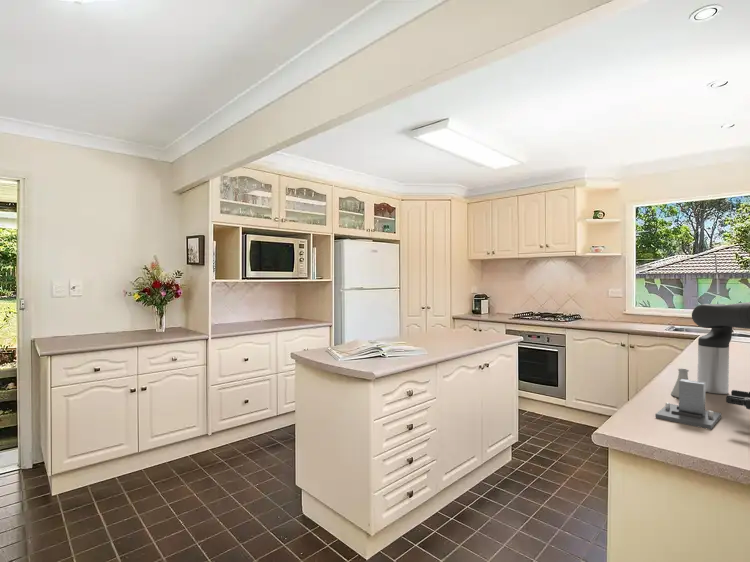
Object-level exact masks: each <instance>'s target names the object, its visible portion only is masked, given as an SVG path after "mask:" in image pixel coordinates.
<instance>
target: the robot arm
mask: <svg viewBox="0 0 750 562" xmlns="http://www.w3.org/2000/svg"><path fill="white" fill-rule="evenodd" d="M691 312H692V313H691V318H692V321H693V322H694V323H695V324H696V325H697V326H699V327H701V328H704V329H711V330H710V331H709V332H708V333H707V334H705V335H702V336H700V337H699V338H698V340H697V344H698V345H697V379H696V381H699V382H705V383H706V392H705V393H710V394H717V395H718V394H720V395H726V396H725V402H726V403H727V404H730V405H731V404H732V405H737V406H742V407H744V408H745V409H747V410H750V391H743V390H739V389H738V390H737V389H732V390H731V394H729V387H730V386H729V385H730V380H729V379H730V378H729V374H730V370H729V369H730V365H729V364H730V343H731V341H732V335H733V334H732V333H733V328H738V329H746V330H747V329H748V330H750V301H747V302H746V301H745V302H739V303H737V302H736V303H731V304H725V303H702V304H699V305H697V306H695V308H694V309H693V310H692V311H691Z"/></svg>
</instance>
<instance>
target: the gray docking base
mask: <svg viewBox="0 0 750 562" xmlns="http://www.w3.org/2000/svg"><path fill="white" fill-rule="evenodd" d="M664 404H665V406H664V407H663V408H661V409H660V410H658V411H657V412H656V413H655V417H656V419H659V418H661V419H660V420H664V419H665V420H664V421H668V420H669V422H673V421H674V422H673V423H678V422H679V424H684V425H688V426H693V427H696V428H697V427H698V428H701V427H702V429H706V428H707V429H706V430H712V429H713V428H714V427H715V426H716V424H717V423H718V421H720V419H721V418H722V413H721V412H717V411H713V410H706V409H705V416H704V417H703V418H701V416H699V415H694V414H689V413H684V412H679V404H678V405H677V404H674V403H670V402H665V403H664ZM714 425H715V426H714Z"/></svg>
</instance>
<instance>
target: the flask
mask: <svg viewBox="0 0 750 562" xmlns="http://www.w3.org/2000/svg"><path fill="white" fill-rule="evenodd" d="M677 370H678V376H677V380H676V381H675V382H674V383H675V384H674V386H673V387H672V390H671V392H670V395H671V396H673V397H675V398H679V381H680V380H681V379H685V380H689V376H688V375H689V374H688V373H689V371H690V370H689V369H687V368H683V367H682V368H681V367H680V368H679V367H678V368H677Z"/></svg>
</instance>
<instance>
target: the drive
mask: <svg viewBox="0 0 750 562" xmlns="http://www.w3.org/2000/svg"><path fill="white" fill-rule="evenodd" d="M706 393H707V392H706V383H705V382H699V381H697V380H691V379H688V380H685V379H681V380H680V381H679V397H678V405H679V412H684V413H689V414H694V415H699V416H701V418H703V417H704V416H705V410H706Z"/></svg>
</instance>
